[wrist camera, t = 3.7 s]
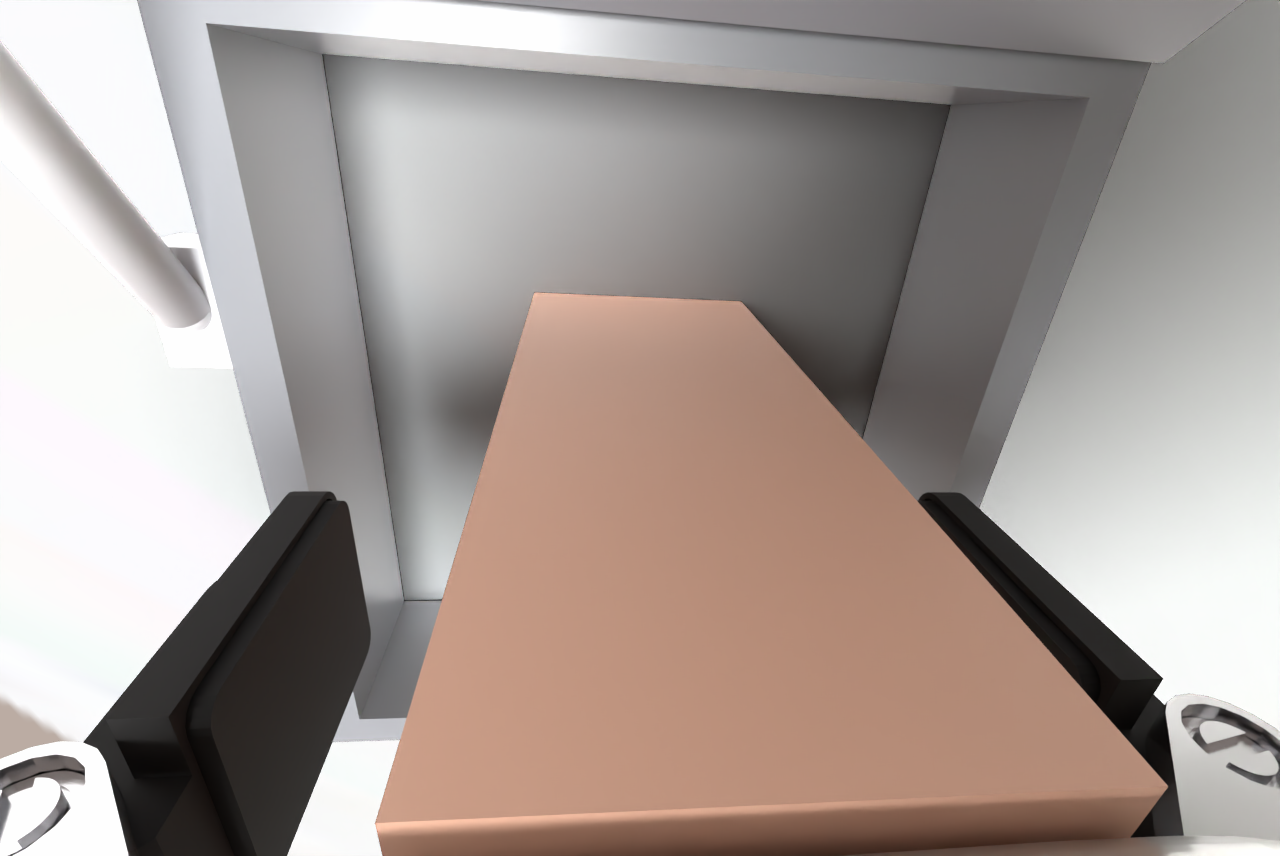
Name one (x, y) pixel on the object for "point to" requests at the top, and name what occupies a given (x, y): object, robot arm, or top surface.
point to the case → (608, 47)
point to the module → (724, 629)
